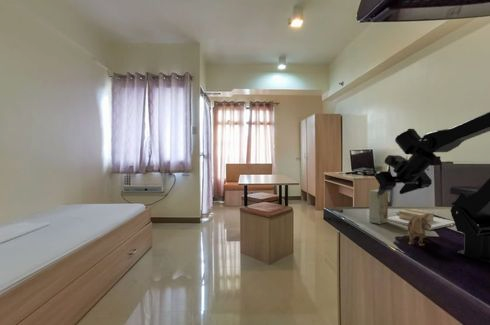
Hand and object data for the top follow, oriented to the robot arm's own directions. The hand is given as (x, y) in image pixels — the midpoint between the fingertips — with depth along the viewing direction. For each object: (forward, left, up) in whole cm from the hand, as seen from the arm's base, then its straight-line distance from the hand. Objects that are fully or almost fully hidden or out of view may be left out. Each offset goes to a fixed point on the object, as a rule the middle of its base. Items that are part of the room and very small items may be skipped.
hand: (389, 193), depth 95 cm
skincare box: (+1, +5, -12) cm, 13 cm away
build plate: (+15, -2, -12) cm, 19 cm away
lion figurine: (-8, -15, -12) cm, 21 cm away
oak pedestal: (+14, -1, -12) cm, 18 cm away
